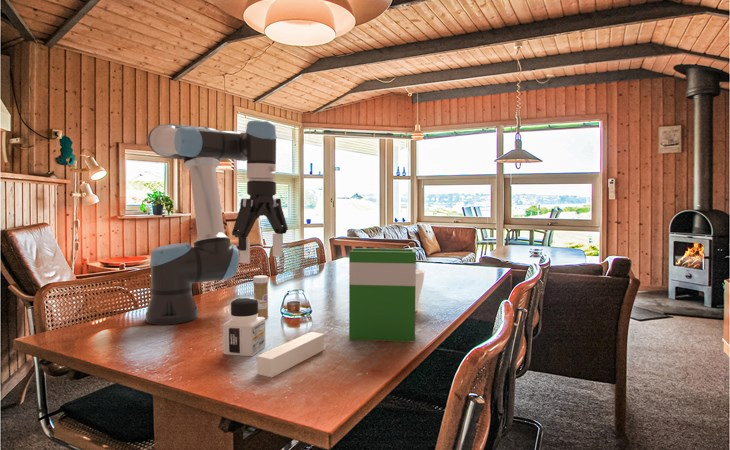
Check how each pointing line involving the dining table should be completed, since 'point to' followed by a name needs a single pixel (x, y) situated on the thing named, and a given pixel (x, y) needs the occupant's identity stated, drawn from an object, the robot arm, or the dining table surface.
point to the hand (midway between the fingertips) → (262, 259)
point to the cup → (418, 286)
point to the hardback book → (382, 294)
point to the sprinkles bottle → (261, 294)
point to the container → (244, 329)
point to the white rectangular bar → (289, 354)
